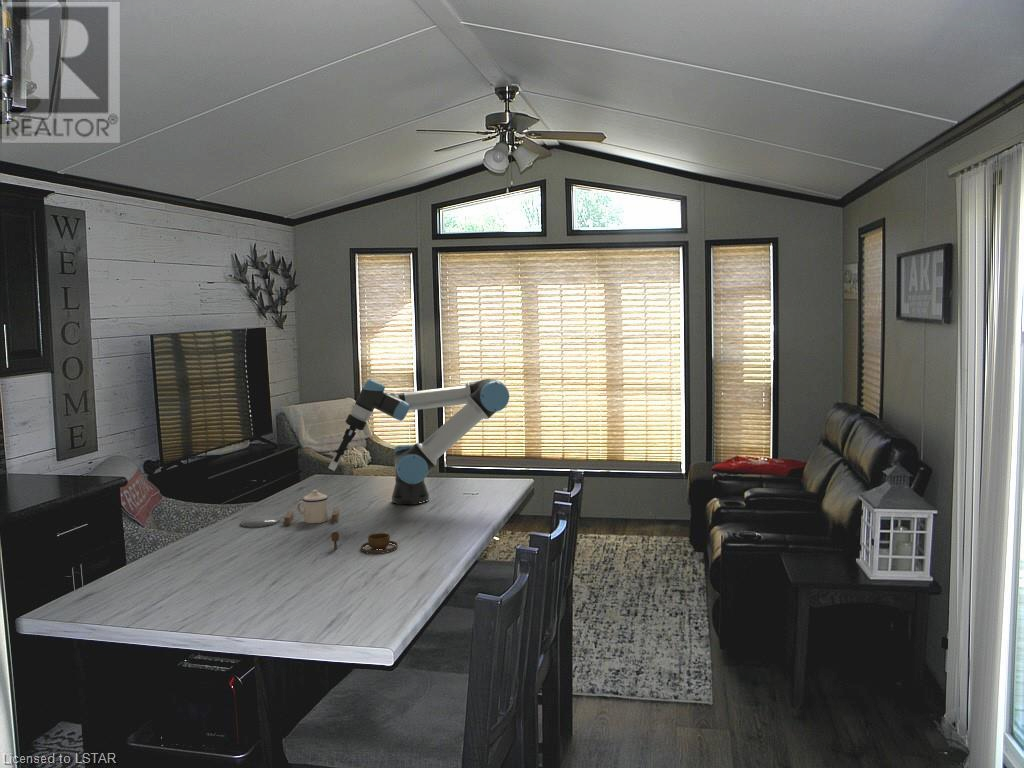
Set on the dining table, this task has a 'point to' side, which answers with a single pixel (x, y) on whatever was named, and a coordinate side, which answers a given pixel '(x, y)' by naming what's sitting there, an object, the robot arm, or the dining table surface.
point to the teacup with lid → (314, 507)
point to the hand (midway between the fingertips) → (332, 466)
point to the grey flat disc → (260, 521)
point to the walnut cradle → (289, 516)
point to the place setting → (371, 542)
